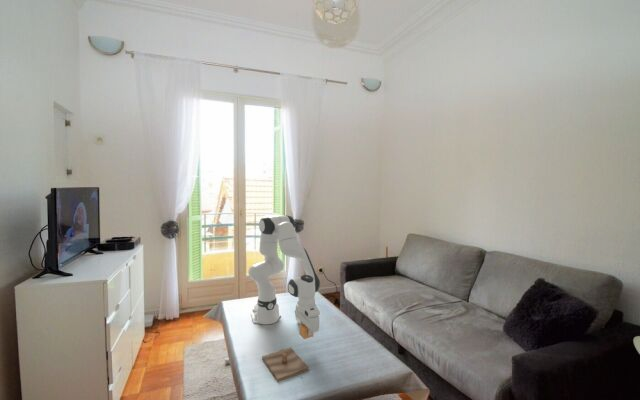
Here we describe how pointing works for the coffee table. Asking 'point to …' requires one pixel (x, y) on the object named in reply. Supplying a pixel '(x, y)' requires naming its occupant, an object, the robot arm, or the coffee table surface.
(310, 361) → the coffee table surface
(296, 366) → the post block
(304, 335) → the wooden toy cube
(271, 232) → the robot arm
